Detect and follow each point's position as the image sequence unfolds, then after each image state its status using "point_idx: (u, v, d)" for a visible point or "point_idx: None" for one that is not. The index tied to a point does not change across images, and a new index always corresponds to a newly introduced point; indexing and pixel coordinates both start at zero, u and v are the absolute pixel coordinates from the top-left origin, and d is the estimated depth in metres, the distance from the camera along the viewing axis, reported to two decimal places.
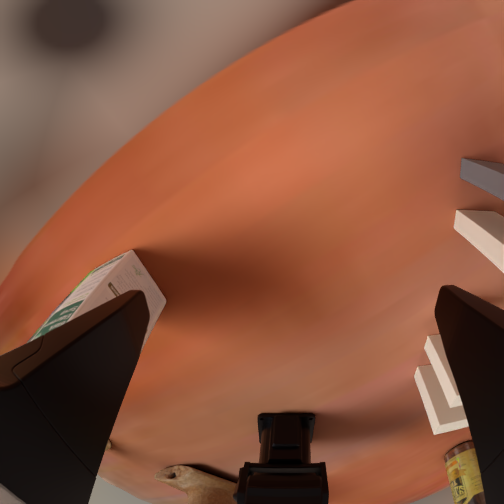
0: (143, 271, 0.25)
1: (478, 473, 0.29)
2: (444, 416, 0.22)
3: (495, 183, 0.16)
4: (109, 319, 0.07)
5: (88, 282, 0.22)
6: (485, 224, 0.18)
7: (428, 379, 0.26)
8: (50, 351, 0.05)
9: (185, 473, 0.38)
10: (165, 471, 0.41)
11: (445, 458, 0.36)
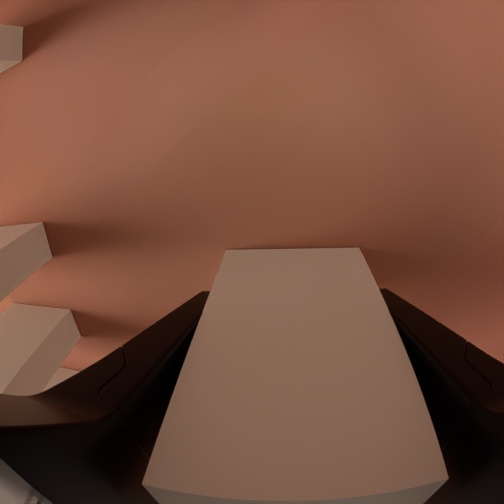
0: None
1: None
2: None
3: None
4: (195, 324, 0.07)
5: None
6: None
7: None
8: (141, 366, 0.05)
9: None
10: None
11: None
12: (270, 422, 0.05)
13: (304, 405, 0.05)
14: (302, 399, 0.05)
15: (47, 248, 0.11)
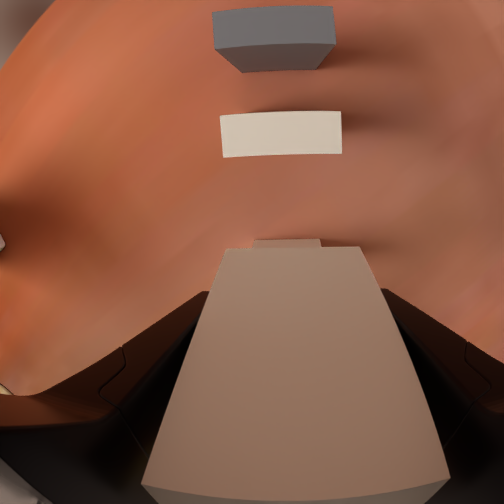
0: None
1: None
2: None
3: None
4: (195, 324, 0.07)
5: None
6: (256, 112, 0.15)
7: None
8: (141, 366, 0.05)
9: None
10: None
11: None
12: (270, 421, 0.04)
13: (304, 404, 0.05)
14: (302, 398, 0.05)
15: None
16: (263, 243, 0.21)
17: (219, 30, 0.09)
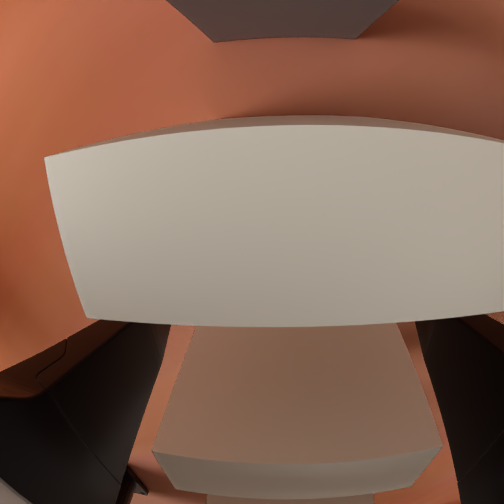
0: None
1: None
2: None
3: None
4: None
5: None
6: None
7: None
8: (76, 356, 0.05)
9: None
10: None
11: None
12: (273, 392, 0.05)
13: (305, 377, 0.05)
14: (303, 372, 0.05)
15: None
16: None
17: None
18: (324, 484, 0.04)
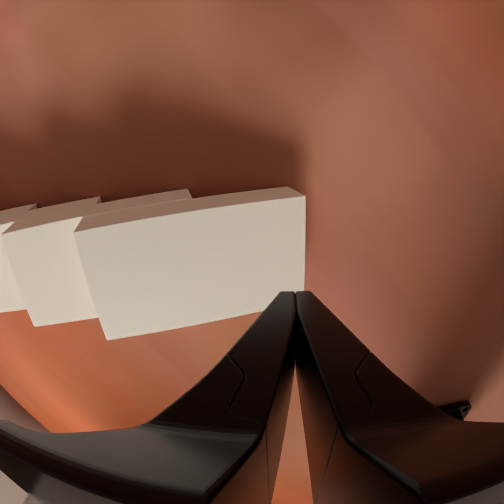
0: None
1: None
2: None
3: None
4: (293, 326, 0.07)
5: None
6: None
7: None
8: (264, 374, 0.05)
9: None
10: None
11: None
12: None
13: None
14: None
15: (94, 202, 0.12)
16: None
17: None
18: None
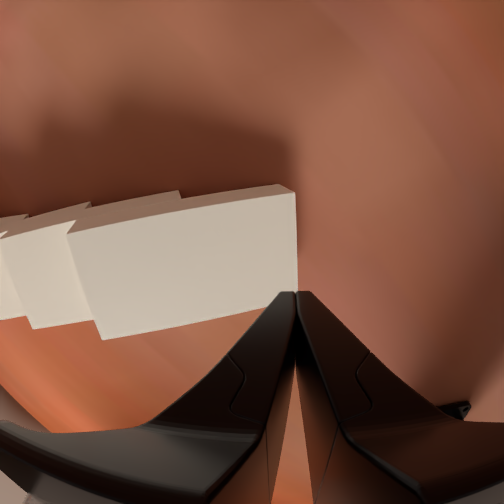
0: None
1: None
2: None
3: None
4: (293, 326, 0.07)
5: None
6: None
7: None
8: (264, 374, 0.05)
9: None
10: None
11: None
12: None
13: None
14: None
15: (83, 207, 0.12)
16: None
17: None
18: None
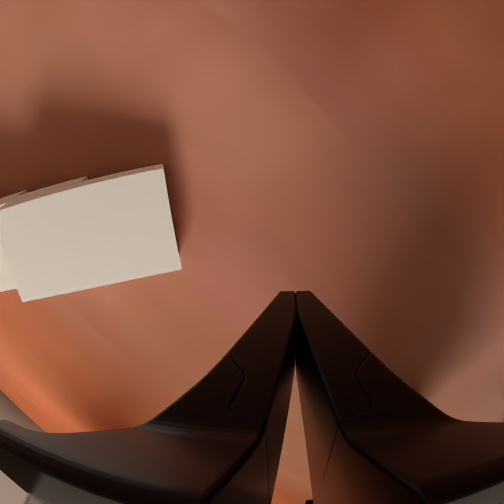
0: None
1: None
2: None
3: None
4: (293, 326, 0.07)
5: None
6: None
7: None
8: (264, 374, 0.05)
9: None
10: None
11: None
12: None
13: None
14: None
15: (17, 194, 0.13)
16: None
17: None
18: None
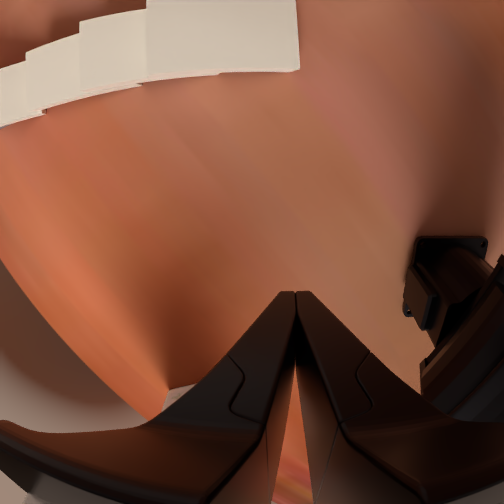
0: (182, 390, 0.28)
1: None
2: None
3: None
4: (293, 326, 0.07)
5: None
6: None
7: None
8: (264, 375, 0.05)
9: None
10: None
11: None
12: None
13: None
14: None
15: None
16: None
17: None
18: None
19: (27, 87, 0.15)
